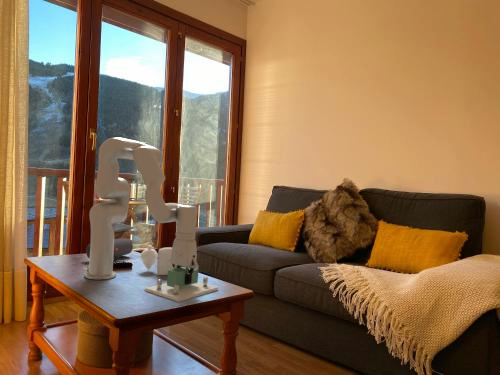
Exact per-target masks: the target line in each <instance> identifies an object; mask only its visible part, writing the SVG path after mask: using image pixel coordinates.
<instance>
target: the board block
mask: <svg viewBox="0 0 500 375" xmlns="http://www.w3.org/2000/svg"><path fill="white" fill-rule="evenodd" d="M189 270H190V267H189ZM185 274H187V273H186V267H182V266H181V268H176V269H171V270H168V275H166V276H167V279H166V283H167V286H170V287H173V288H174V284H178V285H179V287H183V286H187V285H191V284H195V283H198V282H199V281H198V280H199V268H198V269H196V270H195V271H194V273H193V274H192V281H191V284H187V285H186V284H185Z"/></svg>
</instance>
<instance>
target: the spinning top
mask: <svg viewBox="0 0 500 375" xmlns="http://www.w3.org/2000/svg"><path fill="white" fill-rule="evenodd" d="M152 247H153V245H151V244H149V245H147V248H145V249H143V251H142V252H141V253H140V259H141V261H142V263H143V265H144V267H145V268H146V269H147V272H150V269H151V268H152V267H153V266H154V265H155V263H156V262H157V261H158V252H157V250H156V249H155V248H152Z"/></svg>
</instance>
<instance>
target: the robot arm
mask: <svg viewBox="0 0 500 375" xmlns="http://www.w3.org/2000/svg"><path fill="white" fill-rule="evenodd" d="M98 149H99V150H98V166H97V167H98V169H97V175H96V184H95V185H96V186H95V193H96V196H97V197H98V198H99V199H101V200H109V201H106V202H99V203H96V204H94V205H93V206H91V208H90V209H89V215H88V216H89V222H90V243H89V244H90V259H89V260H88V261H89V263H88V264H86V265H85V268H86V269H88V270H87V272H85V273H84V278H85V279H88V280H89V279H90V280H95V281H96V280H97V281H98V280H101V281H102V280H110V279H113V278H116V276H117V272H116V271H113V269H114V267H113V266H114V259H113V254H114V239H115V231H114V228H113V225H114V224H119V223H122V222H124V221H125V220H126V218H127V217H128V213H129V205H130V198H131V187H130V184H129V182H128V181H127V180H126V179H125V178H122V177H120V176H119V175H120V165H119V161H118V159H124V160H131V161H134V164H135V166H136V167H137V170H138V172H139V175H140V176H141V179H142V181H143V182H144V185H145V186H144V187H145V190H144V198H145V203H146V206H147V209H148V211H149V213H150V214H151V216H152V219H154V220H155V221H156V222H157V223H160V224H165V223H172V222H176V229H175V230H176V231H175V234H174V235H175V238H174V240H173V243H172V254H171V260H170V262H171V264H172V266H173V268H174V269H176V268H181V267H186V273H187V274H185V284H186V285H187V284H191V281H192V274H193V273H194V271H195V270H196V269H198V268H199V267H200V266H199V264H198V261H197V257H198V256H197V253H198V252H197V251H198V249H197V248H198V247H197V241H196V227H197V216H198V215H197V214H198V209H197V207H196V205H195V206H194V205H190V204H179V203H176V202H168V203H166V202H165V200H164V198H163V195H162V193H161V186H162V184H163V183H164V182H165V180H166V176H165V173H164V172H163V170H162V167H161V165H163V163H164V155H163V152H162V150H160V149H159V148H157V147H154V146H152V145H149V144H146V143H143V142H140V141H138V140H134V139H128V138H125V137H110V138H108V139H107V138H106V140H104V141H103V142H102V143H101V145H100V146H99V148H98ZM189 267H190V270H189Z"/></svg>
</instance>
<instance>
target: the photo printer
mask: <svg viewBox="0 0 500 375" xmlns="http://www.w3.org/2000/svg"><path fill="white" fill-rule="evenodd" d="M172 247H173V246H172ZM172 247H171V246H170V247H162V248H159V249H158V252H157V254H158V258H157V261H156V262H157V264H156V265H157V266H156V267H157V269H156V275H157V276H167V275H168V270H171V269H174V268H173V266H172V264H171V262H170V260H171V254H172Z"/></svg>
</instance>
